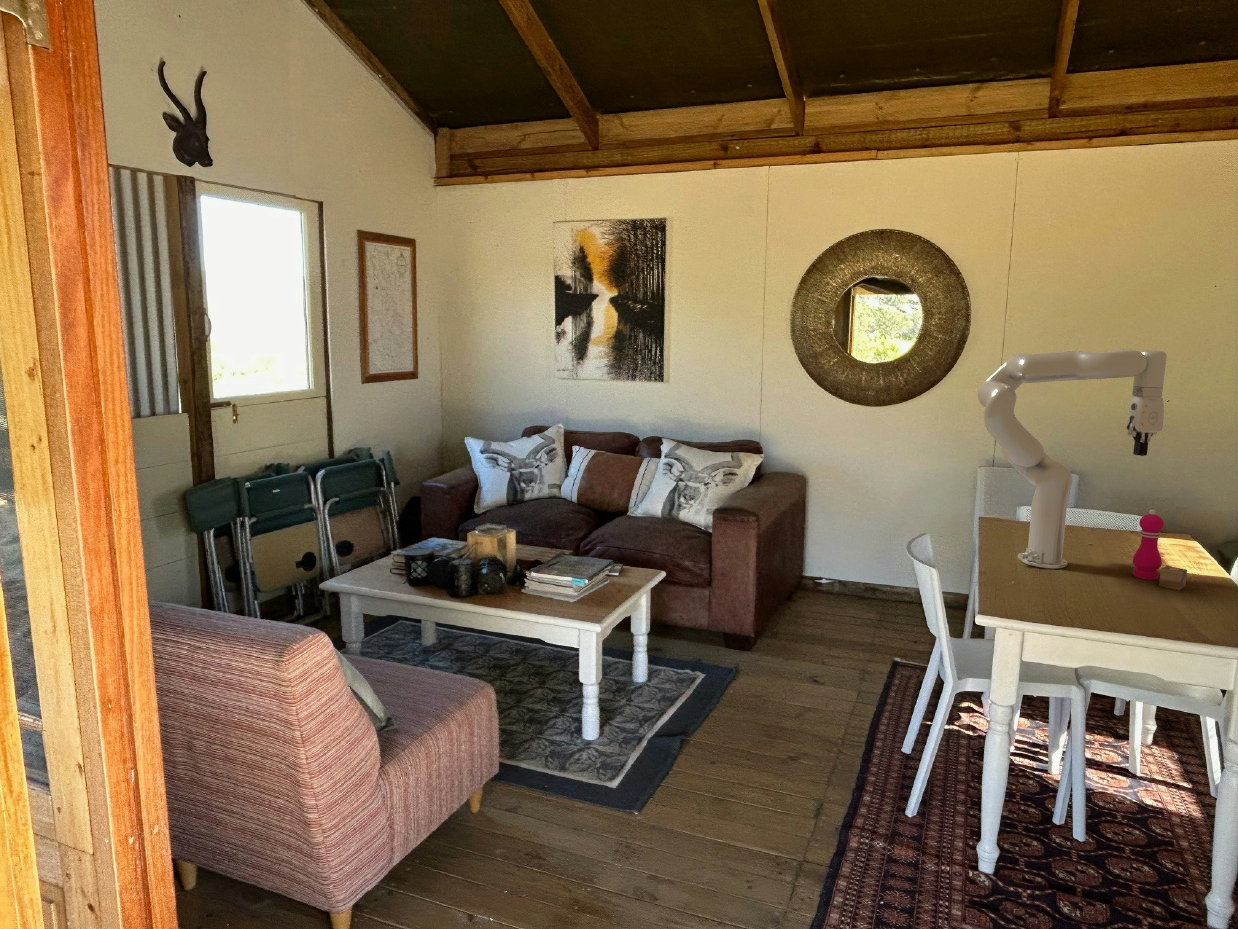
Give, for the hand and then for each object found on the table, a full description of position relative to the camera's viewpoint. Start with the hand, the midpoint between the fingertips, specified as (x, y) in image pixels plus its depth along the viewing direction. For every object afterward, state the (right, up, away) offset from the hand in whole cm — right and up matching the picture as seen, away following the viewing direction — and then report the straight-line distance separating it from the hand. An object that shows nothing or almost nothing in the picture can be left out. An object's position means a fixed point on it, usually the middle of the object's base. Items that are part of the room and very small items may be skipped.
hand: (1139, 454), depth 256 cm
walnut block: (+1, -37, -13) cm, 39 cm away
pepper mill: (-1, -36, -4) cm, 36 cm away
